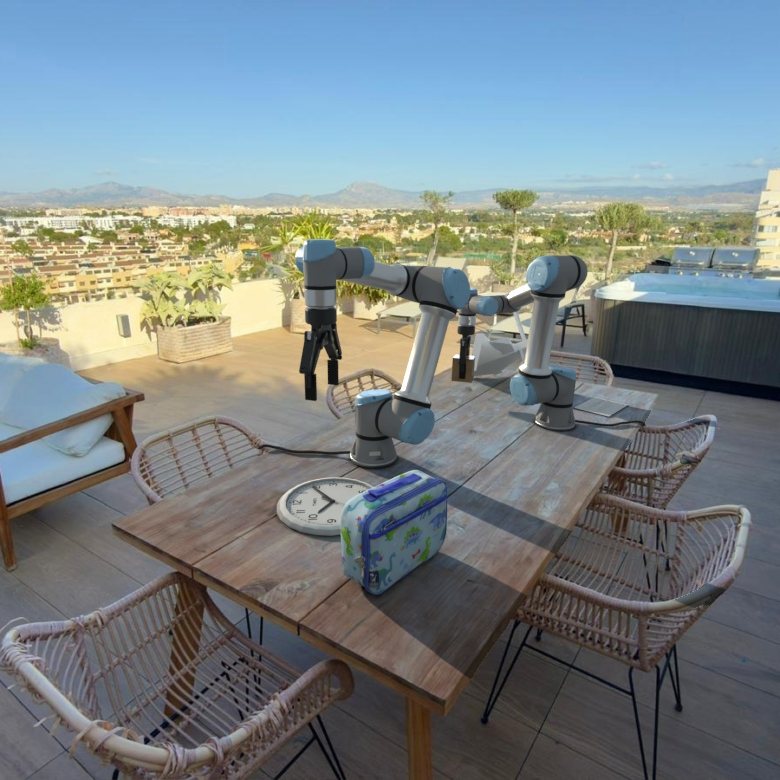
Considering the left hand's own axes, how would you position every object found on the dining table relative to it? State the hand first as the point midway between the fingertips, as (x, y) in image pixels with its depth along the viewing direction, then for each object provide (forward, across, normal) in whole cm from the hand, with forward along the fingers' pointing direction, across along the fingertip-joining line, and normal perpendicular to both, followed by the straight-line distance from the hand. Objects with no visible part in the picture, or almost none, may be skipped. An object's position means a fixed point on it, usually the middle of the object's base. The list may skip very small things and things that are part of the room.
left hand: (322, 392), depth 130 cm
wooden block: (+25, -108, +19) cm, 113 cm away
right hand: (+23, -108, +19) cm, 113 cm away
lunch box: (+33, +18, +25) cm, 45 cm away
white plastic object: (+33, -138, +33) cm, 145 cm away
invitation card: (+33, -117, +79) cm, 145 cm away
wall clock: (+33, -3, +1) cm, 33 cm away
